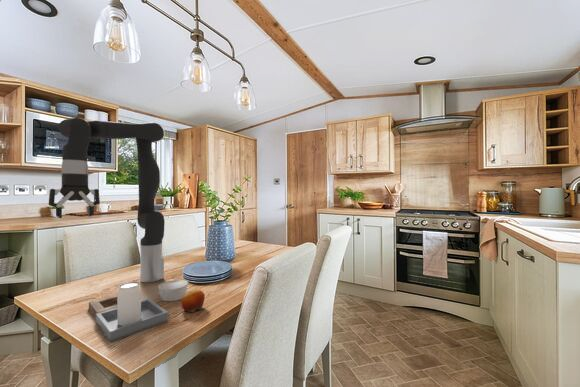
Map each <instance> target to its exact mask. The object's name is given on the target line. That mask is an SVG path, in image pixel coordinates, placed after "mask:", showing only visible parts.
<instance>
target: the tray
mask: <svg viewBox="0 0 580 387" xmlns="http://www.w3.org/2000/svg"><path fill="white" fill-rule="evenodd" d="M168 316H169V312H168V311H167V310H166V309H164V308H163V307H161V306H160V305H159V304H157V303H156V302H155V301H153V300H152V299H150V298H146V299H143V300H142V299H141V319H140V320H139V321H136V322H133V323H130V324H127V325H124V326H120V325H118V319H117V308H114V309H111V310H108V311H104V312H101V313H97V314H96V317H95V324H96V325H97V326H98V328H99V329H100V331H101V332H102V333H103V335H104V336H105V337H106V339H107V340H108V342H109V343H113V342H115V341H118V340H121V339H123V338H126V337H129V336H132V335H134V334H137V333H140V332H143V331H145V330H147V329H151V328H153V327H156V326H159V325H161V324H164V323H166V322H168V321H169V319H168V318H169V317H168Z"/></svg>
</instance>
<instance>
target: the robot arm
mask: <svg viewBox="0 0 580 387" xmlns="http://www.w3.org/2000/svg"><path fill="white" fill-rule="evenodd" d="M57 129H58V130H57V131H58V132H59V133H60V134H61V136H63V137H64V138H67V143H65V144H64V145H63V146H62V156H61V157H62V163H61V187H60V188H58V189H56V188H50V189H49V191H48V192H49V194H48V206H50V207H54V208H55V216H56V217H58V219H62V217H63V207H62V206H63V205H64V204H65V203H66V202H67V201H70V202H73V201H79V202H81V201H83V202H85V203H86V204H87V205H88V207H87V216H88V217H92V216H93V215H94V214H95V212H94V211H95V206H97V205H100V204H101V200H100V190H99V189H98V188H94V189H90V188H89V165H88V148H89V145H90V142H91V139H99V140H100V139H102V140H122V139H124V140H125V139H135V141H136V142H135V143H136V148H137V150H136V151H137V175H138V176H137V180H138V208H137V209H138V210H137V216H136V217H137V224H138V226H139V227H140V228H141V229H143V230H144V236H143V237H141V238H140V241H139V242H140V249H139V250H140V251H139V252H140V255H139V256H140V262H139V263H140V265H139V266H140V271H139V272H140V282H141V283H154V282H158V281H160V280H162V279H164V278H165V277H164V276H165V266H164V265H165V259H164V258H163V239H164V236H165V222H166V221H165V216H164V215H163V213H162V212H161V211H158V210H155V199H156V195H157V194H158V190H159V188H160V183H161V171H160V167H159V164H158V162H157V160H156V159H155V157H154V155H153V143H157V142H160V141H161V140H162V139H163V138H164V135H165V132H164V128H163V127H162V126H161V125H160V124H159V123H156V122H152V121H151V122H142V123H129V122H128V123H127V122H117V121H116V122H115V121H110V120H109V121H107V120H90V121H88V120H86V119H84V118H83V117H82V118H81V117H72V118H66V119H63V120H61V121H60V122H59V123H58V126H57ZM90 193H91V195H93V201H91V199H90V198H89V197H88V195H89V194H90ZM58 194H61V195H62V198H60V199H59V201H58V202H57V203H55V198H56V197H55V196H57V195H58Z"/></svg>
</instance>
